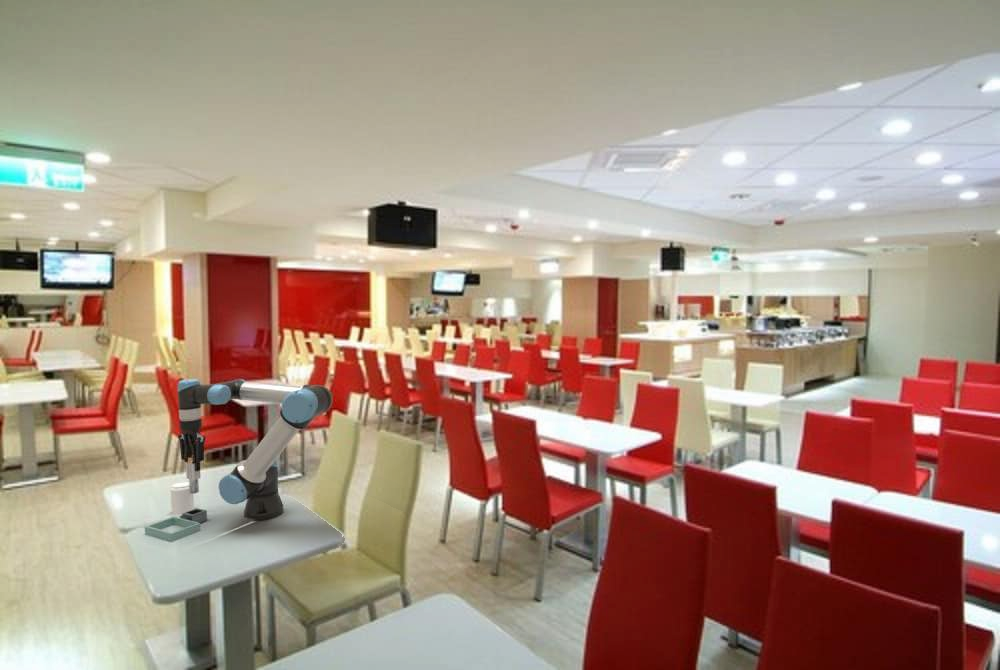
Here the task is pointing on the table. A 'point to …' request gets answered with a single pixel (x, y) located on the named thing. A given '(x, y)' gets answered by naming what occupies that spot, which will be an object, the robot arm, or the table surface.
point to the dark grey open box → (196, 515)
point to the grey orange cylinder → (192, 483)
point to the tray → (188, 529)
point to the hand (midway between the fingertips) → (193, 478)
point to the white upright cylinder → (181, 498)
